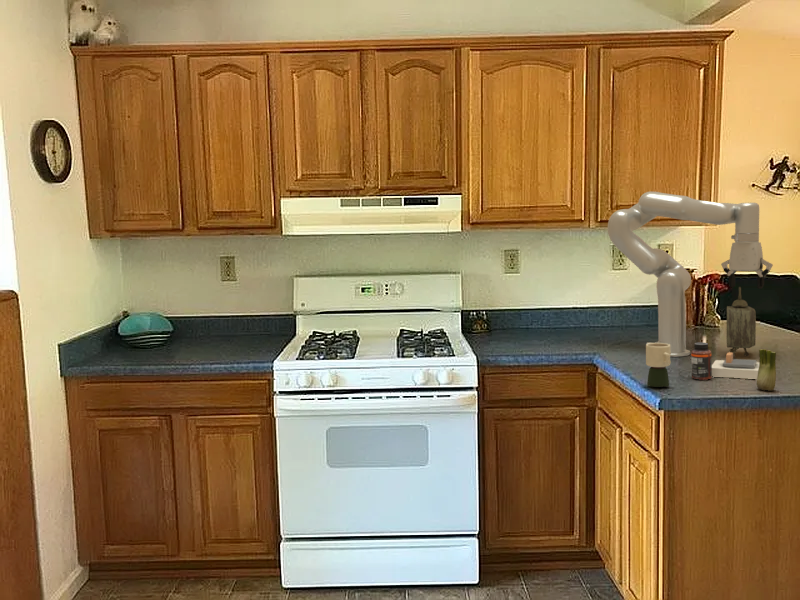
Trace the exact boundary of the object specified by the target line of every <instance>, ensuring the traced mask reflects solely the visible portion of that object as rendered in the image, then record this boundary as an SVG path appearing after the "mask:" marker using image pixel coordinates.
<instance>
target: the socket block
mask: <svg viewBox="0 0 800 600" xmlns="http://www.w3.org/2000/svg"><path fill="white" fill-rule="evenodd" d="M725 360H726V359H725ZM725 360H723V359H721V360H720V359H715V360H714V362H713V363H712V376H713V377H712V378H714V377H734V378H748V379H757V376H758V369H759V361H757V363H756V365H755V367H754V368H746V367H728V366H723V363H724V361H725Z"/></svg>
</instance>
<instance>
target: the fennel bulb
mask: <svg viewBox="0 0 800 600" xmlns="http://www.w3.org/2000/svg"><path fill="white" fill-rule="evenodd" d="M758 351H759V353H758V354H759V361H758V362H759V369H758V376H757V380H756V386H757V388H758V389H759V390H760V391H761V390H762V391H765V390H768V391H774V390H775V387H776V381H777V369H776V366H777V365H776V358H777V357H776V356H777V354H776V353H777V352H775V351H772V350H769V349H768V350H767V349H762V348H761V349H758Z"/></svg>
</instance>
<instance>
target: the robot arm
mask: <svg viewBox="0 0 800 600" xmlns="http://www.w3.org/2000/svg"><path fill="white" fill-rule="evenodd" d="M657 217H662V218H670V219H675V220H681V221H691V222H697V223H698V222H699V223H705V224H709V225H718V226H720V225H721V226H722V225H730V224H735V225H734V227H735V228H734V231H735V232H734V234H733V235H731V237H730V238H731V240H734V242H732V243H731V248H730V253H729V259H728V260H725V261H723V262H722V263H721V266H722V269H723V271H724V273H725V274H726V276H728V280H727V281H728V285H729V286H728V288H735V287H736V275H735V274H736V272H755V273H756V274H757V275H758V276H757V279H756V281H757V284H756V288H757V289H763V288H764V287H765V277H767V275H768V274H769V273H770V271H771V270H772V268H773V266H774V265H773V263H772V262H769V261H767V260H765V259H764V255H763V249H762V248H763V247H762V243H761V242H760V241H759V240H760V205H759V204H758V203H757V202H740V203H731V202H730V203H729V202H714V201H708V200H700V199H695V198H691V197H689V196H687V195H679V194H672V193H666V192H660V191H646V192H644V193H643V194H642V195H641V196H640V198H639V199H638V203H637V202H636V203H635V204H634V205H632V206H631V207H630V208H623V209H618V210H616V211H615V212H613V213H612V214H611V215H610V217H609V219H608V222H607V235H608V238H609V240H610V241H611V243H612V244H613V245H614V246H615V247H616V249H617V250H619V252H621V253H622V254H623V255H624V256H625V257H626V259H628V260H629V261H630V262H631V263H633V265H635V266H636V267H637V268H638V269H639V270H640V271H641V272H642V273H643V274H646V275H649V276H650V275H654V276H655V277H656V278H657V280H656V294H657V313H658V314H657V315H658V317H657V318H658V323H657V324H658V325H657V326H658V327H657V328H658V329H657V330H658V340H657V341H656V342H655V343H665V344H670V350H671V354H670V358H671V357H672V358H673V357H677V358H678V357H686V356H691V351H690V349H687V345H686V344H687V343H686V342H687V341H686V339H687V337H686V336H687V335H686V334H687V333H686V328H687V326H686V325H687V324H686V323H687V322H686V319H687V317H686V315H687V314H686V309H687V308H686V307H687V306H686V296H685V291H686V290H688V288H689V287H690V286H691V284H692V277H691V274H690V272H689V271H688V270H687V269H686V268H685V267H684V266H682V264H680V263H679V262H678V261H677V260H676V259H675V258H674V257H672V256H671V255H670V254H669V253H668V252H666V251H665V250H664V249H662V248H661V249H660V248H655V247H654V248H653V247H651V246H650V245H649V244H648V243H646V242H645V241H644V240H643V239H642V238H641V237H640V236H638V235H637V234H636V233H635V232H634V231H636V230H639V229H640V228H642V226H644V225H646V224H647V223H649V222H651V221H652V220H654V219H656V218H657ZM764 266H765V269H764V270H763V268H764ZM650 343H653V342H646V344H650Z"/></svg>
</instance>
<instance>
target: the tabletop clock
mask: <svg viewBox="0 0 800 600" xmlns="http://www.w3.org/2000/svg"><path fill="white" fill-rule="evenodd" d="M756 314H757V313H756V310H755V308H753V307H751V306H749V305H748V302H747V301H746V300H744V299H742V287H741V286H738V296H737V299H736V300H734V301H733V302H732V304H731V306H730V305H729V306H728V305H727V306H726V347H727V348H730V349H729V352H732V353H733V359H736V355H735V354H736V352H737V351H738V349H742V348H743V350H744V352H743V353H744V356H745V357H749V355H750V353H749V352H748V351H747V349H750V348H753V347H755V346H756V344H757V343H756V342H757V341H756V338H757V336H756V334H757V333H756V331H757V329H756V328H757V325H756V324H757V321H756V319H757V316H756Z"/></svg>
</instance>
